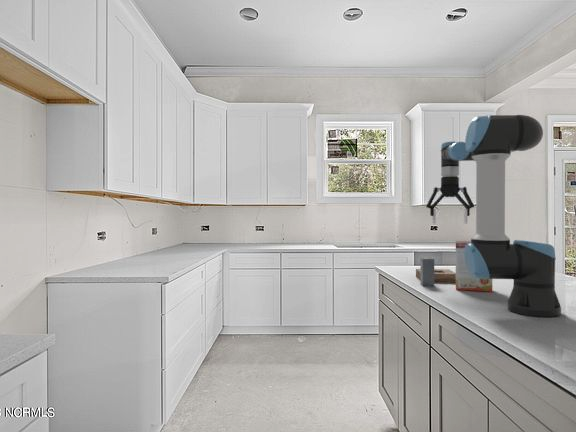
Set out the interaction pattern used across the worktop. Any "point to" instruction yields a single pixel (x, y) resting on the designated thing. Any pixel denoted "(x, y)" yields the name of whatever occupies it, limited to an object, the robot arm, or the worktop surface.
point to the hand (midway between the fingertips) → (449, 223)
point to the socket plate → (441, 276)
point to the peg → (427, 272)
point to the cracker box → (463, 275)
